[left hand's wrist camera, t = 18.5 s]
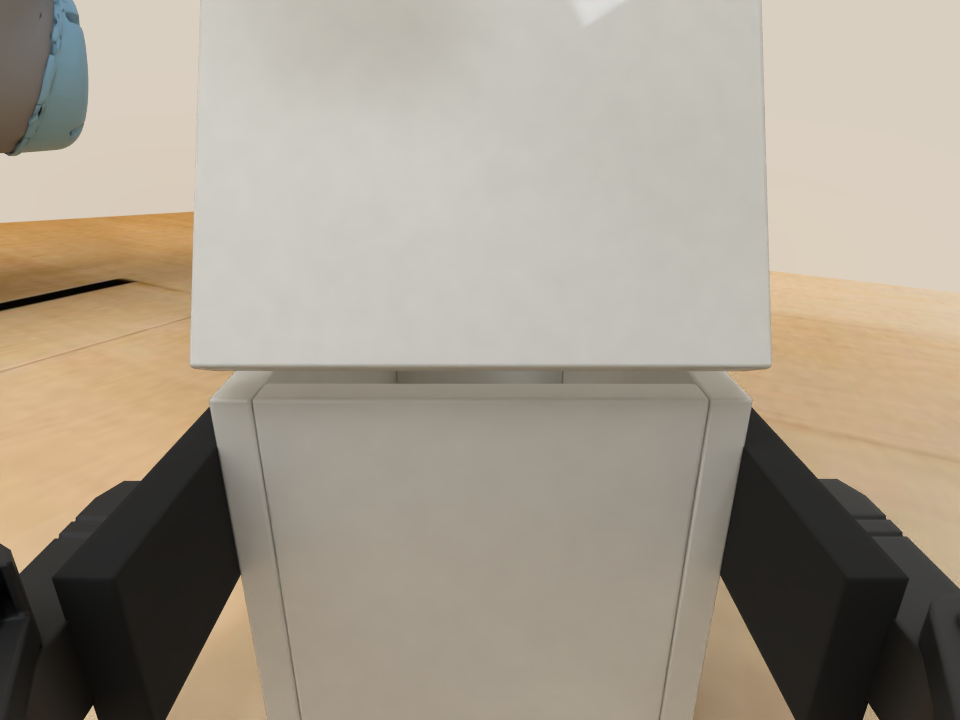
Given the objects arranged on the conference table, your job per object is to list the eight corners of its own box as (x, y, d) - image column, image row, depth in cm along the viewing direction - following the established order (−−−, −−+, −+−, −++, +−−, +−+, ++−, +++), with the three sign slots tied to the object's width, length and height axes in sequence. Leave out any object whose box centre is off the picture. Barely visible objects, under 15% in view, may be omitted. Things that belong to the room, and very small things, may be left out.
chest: (386, 418, 29) (373, 223, 26) (573, 418, 29) (586, 223, 26) (277, 778, 13) (206, 399, 10) (683, 778, 13) (754, 399, 10)
